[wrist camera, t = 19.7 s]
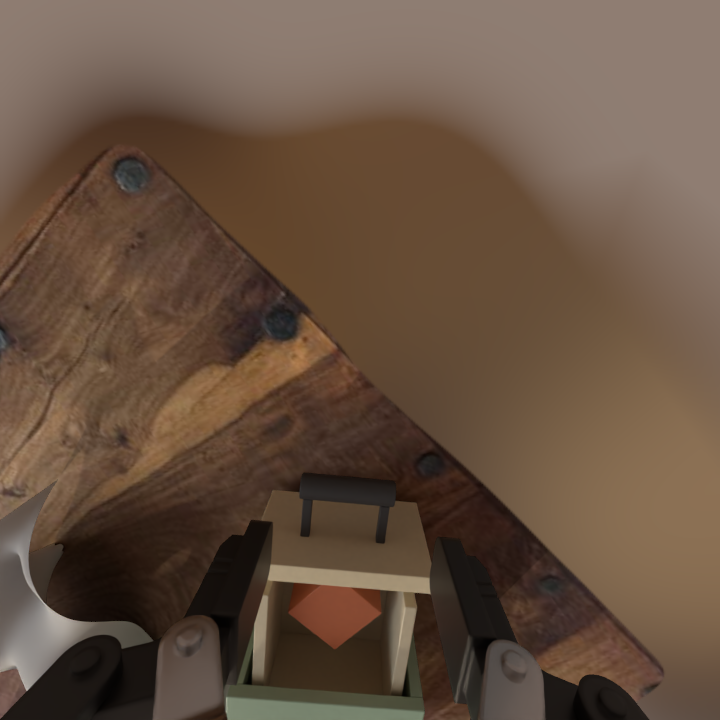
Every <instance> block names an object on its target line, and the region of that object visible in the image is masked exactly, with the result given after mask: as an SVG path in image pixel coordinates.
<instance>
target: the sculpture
mask: <svg viewBox="0 0 720 720" xmlns="http://www.w3.org/2000/svg"><path fill="white" fill-rule="evenodd" d="M57 481H58V480H57ZM57 481H55V482H54V483H52V484H51V485H50V486H48V487H47V488H45V489H44V490H42V491H41V492H40V493H38V494H37V495H35V496H34V497H32V498H31V499H30V500H28V501H27V502H25V503H24V504H22V505H21V506H20V507H18V508H17V509H15V510H14V511H13V512H11V513H10V514H8V515H7V516H5V517H4V518H3V519H1V520H0V672H3V671H7V670H11V669H18V671H19V674H20V677H21V679H22V682H23V684H24V686H25V689H26V691H28V690H29V688H30V687H31V686H32V685H33V684H34V683H35V682H36V681H37V680H38V679H39V678H40V677H41V676H42V675H43V674H44V673H45V672H46V671H47V670H48V669H49V667H50V666H51V665H52V664H53V663H54V662H55V661H56V660H57V659H58V658H59V657H60V656H61V655H62V654H63V653H64V652H65V651H66V650H68V649H69V648H70V647H72V646H73V645H75V644H76V643H78V642H80V641H82V640H84V639H86V638H89V637H92V636H96V635H111V636H113V637H115V638H117V639H118V640H119V642H120V644H121V648H122V649H123V648H127V647H131V646H136V645H140V644H144V643H148V642H152V641H153V640H152V638H151V637H150V636H149V635H148V634H147V633H146V632H145V631H144V630H143V629H142V628H141V627H139V626H138V625H136V624H134V623H131V622H126V621H108V622H82V621H76V620H72V619H68V618H66V617H63V616H61V615H59V614H57V613H56V612H54V611H53V610H52V609H50V608H49V607H48V606H47V604H46V598H47V590H48V585H49V581H50V578H51V575H52V572H53V570H54V568H55V566H56V564H57V562H58V561H59V559H60V557H61V556H62V554H63V553H64V552H63V551H62V549H63V547H64V546H63V545H62V544H58V545H55V543H53V544H50V545H48V546H46V547H44V548H42V549H40V550H37V551H34V552H31V553H29V545H30V540H31V535H32V532H33V528H34V525H35V522H36V520H37V517H38V515H39V512H40V510H41V508H42V506H43V504H44V502H45V500H46V498H47V496H48V495H49V493H50V491H51V489H52V488H53V486H54V485H55V483H56V482H57ZM229 686H230V685H225V688H224V691H223V692H224V705H225V712H226V696H227V693H228V690H229Z"/></svg>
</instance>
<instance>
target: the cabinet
mask: <svg viewBox="0 0 720 720" xmlns="http://www.w3.org/2000/svg"><path fill="white" fill-rule="evenodd" d="M254 625H255V624H254ZM253 647H254V627H253V631H252V634H251V637H250V641H249V644H248V647H247V651H246V654H245V658H244V661H243V664H242V668H241V671H240V675H239V678H238V681H237V685H230V686H229V690H228V693H227V696H226V713H227V719H228V720H423V718H424V713H425V709H424V702H423V695H422V688H421V682H420V675H419V668H418V662H417V655H416V648H415V642H414V635H413V634H412V640H411V646H410V651H409V657H408V663H407V668H406V674H405V679H404V685H403V691H402V696H389V695H376V694H362V693H349V692H336V691H323V690H310V689H297V688H283V687H270V686H257V685H252V669H253Z"/></svg>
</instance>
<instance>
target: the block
mask: <svg viewBox="0 0 720 720" xmlns="http://www.w3.org/2000/svg"><path fill="white" fill-rule="evenodd" d="M288 613H289V614H290V615H291V616H293V617H294V618H295V619H296V620H298V621H299V622H300V623H302V624H303V625H304V626H305V627H307V628H308V629H309V630H310V631H312V632H313V633H314V634H316V635H317V636H318V637H319V638H321V639H322V640H323V641H324V642H326V643H327V644H328V645H330V646H331V647H332V648H333V649H336V648H338V647H339V646H340V645H341V644H343V643H344V642H345V641H347V640H348V639H349V638H351V637H352V636H353V635H354V634H356V633H357V632H358V631H360V630H361V629H362V628H363V627H365V626H366V625H367V624H369V623H370V622H371V621H372V620H374V619H375V618H376V617H378V616H379V615H380V614H381V613H382V612H381V597H380V590H378V589H366V588H354V587H342V586H330V585H318V584H306V583H294V585H293V590H292V595H291V600H290V604H289V609H288Z"/></svg>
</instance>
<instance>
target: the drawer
mask: <svg viewBox="0 0 720 720" xmlns="http://www.w3.org/2000/svg"><path fill="white" fill-rule="evenodd" d="M395 500H396V483H395V481H390V480H379V479H369V478H358V477H347V476H336V475H325V474H315V473H303V474H302V478H301V483H300V492H292V491H281V490H273V491H272V494H271V496H270V499H269V501H268V504H267V506H266V509H265V511H264V514H263V517H262V519H261V521H270V522H273V537H272V555H271V565H270V571H269V576H268V580H267V583H266V587H265V590H264V593H263V597H262V600H261V604H260V607H259V610H258V614H257V617H256V620H255V625H254V647H253V669H252V685H257V686H270V687H283V688H297V689H310V690H323V691H336V692H349V693H362V694H376V695H389V696H402V691H403V685H404V679H405V674H406V668H407V663H408V657H409V651H410V646H411V640H412V634H413V629H414V623H415V617H416V612H417V604H416V598H415V593H425V594H431V593H430V583H429V579H430V570H431V564H432V563H431V559H430V555H429V551H428V547H427V543H426V539H425V535H424V531H423V527H422V523H421V519H420V515H419V511H418V507H417V503H413V502H402V501H395ZM294 583H306V584H318V585H330V586H342V587H354V588H366V589H378V590H380V597H381V612H382V613H381V614H380V615H379V616H378V617H376V618H375V619H374V620H372V621H371V622H370V623H369V624H367V625H366V626H365V627H363V628H362V629H361V630H360V631H358V632H357V633H356V634H354V635H353V636H352V637H351V638H349V639H348V640H347V641H345V642H344V643H343V644H341V645H340V646H339V647H338V648H336V649H333V648H332V647H331V646H330V645H328V644H327V643H326V642H324V641H323V640H322V639H321V638H319V637H318V636H317V635H316V634H314V633H313V632H312V631H310V630H309V629H308V628H307V627H305V626H304V625H303V624H302V623H300V622H299V621H298V620H296V619H295V618H294V617H293V616H291V615H290V614H289V613H288V609H289V604H290V600H291V595H292V590H293V585H294Z"/></svg>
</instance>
